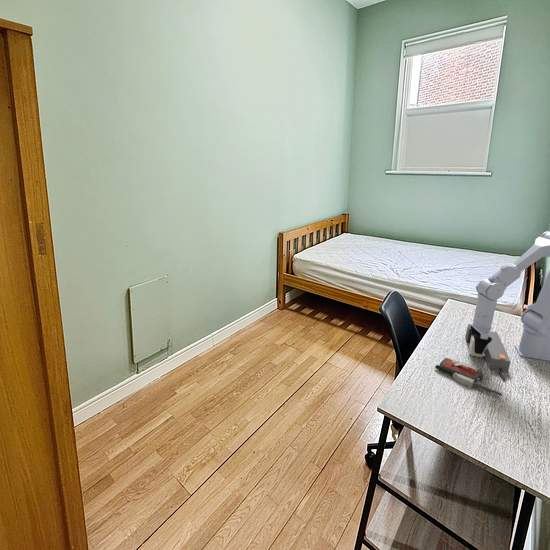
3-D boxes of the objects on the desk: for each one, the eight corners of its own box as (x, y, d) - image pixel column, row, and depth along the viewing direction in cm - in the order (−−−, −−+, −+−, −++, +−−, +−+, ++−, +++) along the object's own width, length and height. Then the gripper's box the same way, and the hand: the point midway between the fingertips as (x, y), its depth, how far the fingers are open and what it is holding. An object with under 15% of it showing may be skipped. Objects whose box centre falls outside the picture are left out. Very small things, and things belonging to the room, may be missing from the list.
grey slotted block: (495, 341, 138) (498, 327, 136) (512, 382, 113) (516, 365, 111) (465, 336, 141) (467, 323, 139) (475, 375, 116) (478, 358, 114)
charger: (489, 352, 129) (492, 338, 127) (491, 358, 125) (494, 344, 123) (468, 349, 131) (471, 335, 130) (470, 355, 128) (473, 340, 126)
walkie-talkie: (431, 372, 118) (500, 400, 105) (433, 361, 116) (503, 388, 103) (441, 362, 124) (507, 388, 111) (443, 351, 122) (510, 375, 109)
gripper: (468, 304, 132) (461, 337, 136) (474, 320, 119) (466, 355, 123) (490, 307, 129) (482, 340, 134) (498, 323, 116) (489, 359, 121)
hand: (476, 348), depth 128 cm, fingers open, 7 cm apart
